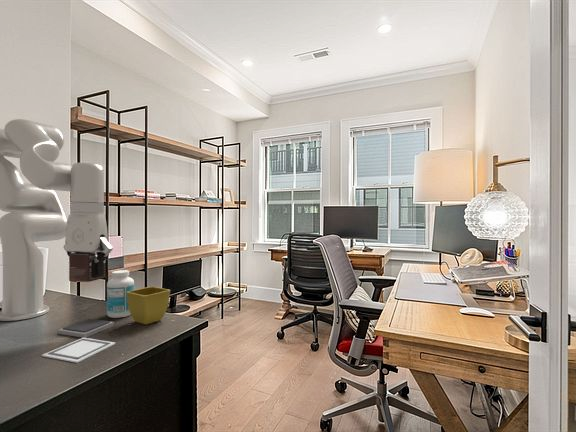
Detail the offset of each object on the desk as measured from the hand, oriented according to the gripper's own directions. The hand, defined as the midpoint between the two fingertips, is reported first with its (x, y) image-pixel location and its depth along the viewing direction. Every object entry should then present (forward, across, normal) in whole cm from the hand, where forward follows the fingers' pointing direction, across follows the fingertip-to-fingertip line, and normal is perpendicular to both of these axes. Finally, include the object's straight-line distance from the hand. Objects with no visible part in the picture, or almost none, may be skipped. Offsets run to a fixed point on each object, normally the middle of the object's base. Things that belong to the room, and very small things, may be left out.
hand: (87, 275), depth 84 cm
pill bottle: (+15, -1, +12) cm, 19 cm away
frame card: (+15, +9, -10) cm, 20 cm away
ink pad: (+15, 0, 0) cm, 15 cm away
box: (+1, 0, 0) cm, 1 cm away
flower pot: (+15, +11, +10) cm, 21 cm away
